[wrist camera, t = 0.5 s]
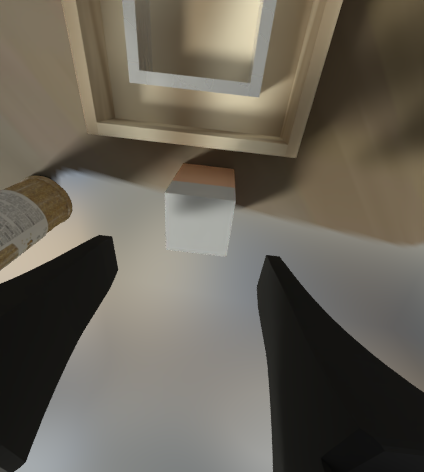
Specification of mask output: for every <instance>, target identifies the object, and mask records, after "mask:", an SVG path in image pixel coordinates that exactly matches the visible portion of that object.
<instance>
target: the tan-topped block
mask: <svg viewBox="0 0 424 472" xmlns="http://www.w3.org/2000/svg"><path fill="white" fill-rule="evenodd" d="M235 203H236V194H235V175H234V169H229V168H221V167H212V166H204V165H195V164H187V163H183V165H182V166H181V168H180V169H179V171H178V173H177V174H176V176H175V177H174V179H173V180H172V182H171V184H170V185H169V187H168V188H167V190H166V191H165V224H166V225H165V226H166V249H167V250H174V251H183V252H191V253H200V254H208V255H216V256H227V250H228V244H229V239H230V233H231V226H232V221H233V215H234V209H235Z"/></svg>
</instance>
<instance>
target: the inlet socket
mask: <svg viewBox="0 0 424 472" xmlns="http://www.w3.org/2000/svg"><path fill="white" fill-rule="evenodd" d="M276 2H277V0H260V5H259V12H258V18H257V25H256V31H255V38H254V44H253V51H252V58H251V64H250V71H249V77H248V83H245V82H236V81H228V80H219V79H210V78H201V77H193V76H184V75H175V74H167V73H158V72H153V65H152V41H151V17H150V0H122V6H123V17H124V28H125V39H126V50H127V61H128V72H129V83H137V84H146V85H155V86H163V87H172V88H181V89H189V90H198V91H207V92H215V93H224V94H233V95H241V96H250V97H259V96H260V90H261V85H262V79H263V74H264V68H265V63H266V57H267V52H268V46H269V41H270V35H271V30H272V24H273V19H274V13H275V8H276Z"/></svg>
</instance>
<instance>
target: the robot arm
mask: <svg viewBox="0 0 424 472" xmlns="http://www.w3.org/2000/svg"><path fill="white" fill-rule="evenodd" d="M117 271H118V266H117V261H116V255H115V250H114V244H113V239H112V237H111V236H102V235H99V236H96V237H94V238H92V239H90V240H88V241H86V242H84V243H83V244H81V245H79V246H77V247H75V248H73V249H71V250H70V251H68V252H66V253H64V254H62V255H60V256H58V257H56V258H55V259H53V260H51V261H49V262H47V263H45V264H43V265H41V266H39V267H36V268H35V269H32V270H30V271H28V272H26V273H24V274H22V275H20V276H17V277H15V278H13V279H11V280H8V281H6V282H4V283H1V284H0V472H14V471H16V470H17V469H18V468H20V467H21V466H22V465H23V464H24V463H25V462H26V460H27V457H28V454H29V452H30V449H31V446H32V444H33V441H34V439H35V436H36V434H37V431H38V429H39V426H40V424H41V421H42V418H43V416H44V414H45V412H46V409H47V407H48V405H49V402H50V400H51V398H52V395H53V393H54V391H55V388H56V386H57V384H58V382H59V379H60V377H61V375H62V373H63V371H64V369H65V367H66V364H67V362H68V360H69V358H70V356H71V354H72V352H73V350H74V348H75V346H76V344H77V342H78V340H79V338H80V336H81V335H82V333H83V331H84V330H85V328H86V326H87V325H88V323H89V321H90V320H91V318H92V317H93V315H94V314H95V312H96V310H97V309H98V307H99V305H100V304H101V302H102V300H103V299H104V297H105V296H106V294H107V292H108V291H109V289H110V287H111V285H112V283H113V280H114V278H115V276H116V274H117ZM257 299H258V310H259V316H260V321H261V327H262V333H263V339H264V344H265V350H266V357H267V365H268V377H269V389H270V407H271V426H272V450H273V472H424V392H422V391H421V390H419V389H418V388H416V387H415V386H414V385H412V384H411V383H409V382H408V381H407V380H405V379H404V378H403V377H401V376H400V375H398V374H397V373H396V372H394V371H393V370H392V369H391V368H389V367H388V366H387V365H385V364H384V363H383V362H381V361H380V360H379V359H378V358H376V357H375V356H374V355H373V354H371V353H370V352H369V351H368V350H367V349H366V348H364V347H363V346H362V345H361V344H360V343H358V342H357V341H356V340H355V339H354V338H353V337H352V336H350V335H349V334H348V333H347V332H346V331H345V330H344V329H343V328H342V327H341V326H340V325H339V324H337V323H336V322H335V321H334V320H333V319H332V318H331V317H330V316H329V315H328V314H327V313H326V312H325V311H324V310H323V309H322V307H321V306H320V305H319V304H318V303H317V302H316V301H315V300H314V299H313V298H312V297H311V295H310V294H309V293H308V292H307V291H306V290H305V288H304V287H303V286H302V285H301V284H300V282H299V281H298V280H297V279H296V277H295V276H294V275H293V274H292V272H291V271H290V270H289V268H288V267H287V266H286V264H285V263H284V262H283V261H282V260H281V258H280V257H277V256H270V255H266V258H265V261H264V264H263V268H262V271H261V275H260V278H259V281H258V285H257Z"/></svg>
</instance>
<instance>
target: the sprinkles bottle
mask: <svg viewBox="0 0 424 472" xmlns="http://www.w3.org/2000/svg"><path fill="white" fill-rule="evenodd" d="M71 213H72V203H71V200H70V198H69V196H68V194H67V193H66V191H65V190H64V189H63V188H61V187H60V185H58V184H57V183H56V182H55V181H53V180H51V179H49V178H47V177H43V176H29V177H26V178H25V179H23V180H22V181H21V182H20V183H17V184H15V185H13V186H10V187H8V188H6V189H4V190H0V270H1V269H3V268H4V267H6V266H7V265H8V264H10V263H11V262H12V261H13V260H14V259H16V258H17V257H18V256H20V255H21V254H22V253H24V252H25V251H26V250H28V249H29V248H30V247H31V246H32V245H34V244H35V243H37V242H38V241H39V240H40V239H42V238H43V237H44V236H45V235H46V233H48V232H49V231H51V230H52V229H53V228H54V227H55V226H57V225H59V224H60V223H62V222H64V221H65V220H67V219H68V218H69V217H70V215H71Z"/></svg>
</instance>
